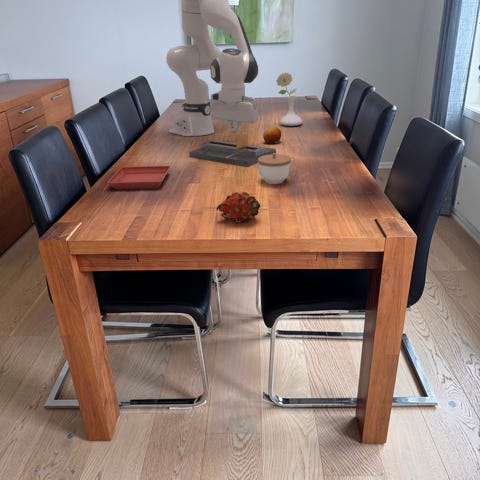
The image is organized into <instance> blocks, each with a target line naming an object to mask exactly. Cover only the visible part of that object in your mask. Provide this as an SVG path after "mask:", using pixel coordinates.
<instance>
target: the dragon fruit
mask: <svg viewBox="0 0 480 480" xmlns="http://www.w3.org/2000/svg"><path fill="white" fill-rule="evenodd" d="M260 208H261V204H260V202H259V201H258V200H257V199H256V198H255V197H254V195H250V193H247V192H246V191H242V192H241V193H239V192H232V193H231V195H227V196H226V197H225V199H224V200H223V201H222V202H221V203H220V204H218V205H217V207H216V211H219V212H220V213H221V212H222V213H221V214H220V216H221V217H222V218H224V219H226V220H227V219H231V220H232V219H233V220H232V221H235V222H236V223H237V224H238V223H240V222H242V221H245V222H247V221H250V219H251V218H255V217H257V216H258V215H259V213H260V212H259V210H260Z"/></svg>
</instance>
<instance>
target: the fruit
mask: <svg viewBox="0 0 480 480" xmlns="http://www.w3.org/2000/svg"><path fill="white" fill-rule="evenodd" d="M262 137H263V140H264V141H265V143H266V144H267V145H268V144H269V145H272V144H279V142H280V143H281V142H282V141H281V139H282V138H281V137H282V130H281V129H280V128H279V127H278V126H271V127H268V128H267V129H265V130H264V131H263V135H262Z"/></svg>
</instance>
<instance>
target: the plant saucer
mask: <svg viewBox="0 0 480 480" xmlns="http://www.w3.org/2000/svg"><path fill="white" fill-rule="evenodd" d="M170 170H171V165H153V166H151V165H150V166H148V165H147V166H145V165H144V166H122V167H121V166H120V168H119V169H118V170H117V171H116V172H115V173H114V174H113V176H111V178H110V179H109V180H108V181H107V183H108V184H109V186H111V187H112V188H114V189H115V190H130V189H131V190H135V189H137V190H138V189H159V188H160V186H161V184H163V182H164V179H165V178H166V176H167V175H168V173H169V172H170Z"/></svg>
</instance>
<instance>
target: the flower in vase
mask: <svg viewBox="0 0 480 480" xmlns="http://www.w3.org/2000/svg"><path fill="white" fill-rule="evenodd" d="M292 81H293V77H292V74H291V73H289V72H281V74H279V75H278V77H277V79H276V84H277V85H276V86H279V87H281V88H283V87H284V88H285V89H281V90H280V91H278V92H277V94H279V95H285V94H286V93H287V94H288V95H287V96H286V99H287V100H288V112H287V113H286V114H285V115H284V116H282V118H281V119H280V120H279V124H281V125H283V126H285V127H294V126H299V125H301V124H303V119H302V117H300V116H299V115H297V113H296V112H295V111H294V110H295V109H294V106H295V101H296V98H297V95H292V94H295V92H296V91H297V88H294V89H292V90H290V91H288V88H287V86H290V85H291V82H292Z"/></svg>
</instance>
